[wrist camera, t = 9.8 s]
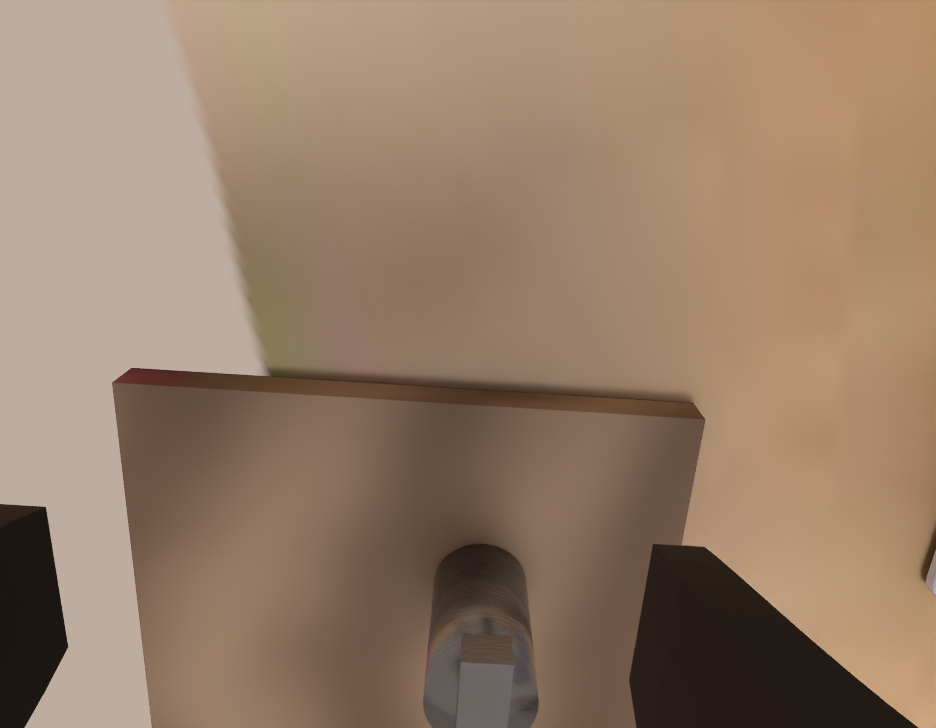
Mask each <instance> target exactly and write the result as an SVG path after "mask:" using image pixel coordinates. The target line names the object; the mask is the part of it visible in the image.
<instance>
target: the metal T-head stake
mask: <svg viewBox="0 0 936 728" xmlns="http://www.w3.org/2000/svg"><path fill="white" fill-rule="evenodd" d="M538 708H539V699H538V689H537V680H536V670H535V660H534V650H533V641H532V631H531V621H530V611H529V602H528V592H527V582H526V575H525V572H524V569H523V567H522V565H521V564H520V562H519V561H518V560H517V559H516V557H514V556H513V555H512V554H511V553H509V552H508V551H506V550H504V549H502V548H500V547H497V546H494V545H490V544H471V545H466V546H463V547H460V548H458V549H456V550H454V551H452V552H451V553H449V554H448V555H447V556H446V557H445V558H444V559H443V560H442V561H441V563H440V564H439V566H438V568H437V570H436V573H435V577H434V586H433V597H432V608H431V619H430V630H429V641H428V651H427V662H426V673H425V684H424V695H423V709H424V713H425V716H426V719H427V720H428V722H429V724H430V725H431V727H432V728H530V727H531V725H532V724H533V722H534V721H535V719H536V716H537V713H538Z"/></svg>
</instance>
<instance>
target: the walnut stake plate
mask: <svg viewBox="0 0 936 728" xmlns="http://www.w3.org/2000/svg"><path fill="white" fill-rule="evenodd" d="M112 385H113V393H114V402H115V411H116V419H117V427H118V437H119V445H120V454H121V462H122V471H123V480H124V489H125V497H126V506H127V515H128V523H129V532H130V541H131V548H132V558H133V566H134V575H135V584H136V592H137V601H138V610H139V619H140V626H141V636H142V645H143V653H144V662H145V670H146V679H147V688H148V696H149V705H150V714H151V723H152V728H432V727H431V725H430V724H429V722H428V720H427V719H426V716H425V713H424V709H423V695H424V684H425V673H426V662H427V651H428V641H429V630H430V619H431V608H432V597H433V586H434V577H435V573H436V570H437V568H438V566H439V564H440V563H441V561H442V560H443V559H444V558H445V557H446V556H447V555H448V554H449V553H451V552H452V551H454V550H456V549H458V548H460V547H463V546H466V545H471V544H490V545H494V546H497V547H500V548H502V549H504V550H506V551H508V552H509V553H511V554H512V555H513V556H514V557H516V559H517V560H518V561H519V562H520V564H521V565H522V567H523V569H524V572H525V575H526V582H527V592H528V602H529V611H530V621H531V631H532V641H533V650H534V660H535V670H536V680H537V689H538V699H539V708H538V713H537V716H536V719H535V721H534V722H533V724H532V725H531V727H530V728H636V722H635V715H634V709H633V703H632V696H631V690H630V683H629V677H630V671H631V666H632V660H633V654H634V649H635V643H636V637H637V632H638V626H639V620H640V615H641V609H642V603H643V597H644V592H645V586H646V580H647V575H648V569H649V563H650V558H651V552H652V546H653V544H664V545H681V544H682V538H683V533H684V528H685V523H686V517H687V512H688V507H689V502H690V497H691V491H692V486H693V481H694V476H695V471H696V465H697V460H698V455H699V450H700V445H701V439H702V434H703V429H704V424H705V418H704V417H703V416H702V414H701V413H700V412H699V410H698V409H697V407H696V406H695V405H694V403H685V402H669V401H653V400H637V399H621V398H605V397H589V396H573V395H557V394H541V393H525V392H509V391H493V390H477V389H461V388H445V387H428V386H412V385H396V384H380V383H364V382H348V381H332V380H316V379H300V378H284V377H268V376H252V375H236V374H220V373H219V374H218V373H204V372H188V371H172V370H156V369H140V368H131V369H130V370H128V371H127V372H126V373H124V374H123V375H122V376H120V377H119V378H118V379H117V380H115V381H114V382H113V383H112Z"/></svg>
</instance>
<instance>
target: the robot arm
mask: <svg viewBox="0 0 936 728" xmlns="http://www.w3.org/2000/svg"><path fill="white" fill-rule="evenodd" d="M926 584H927V586H928V588H929V589H930V590H931V591H932V592H933V594H934V595H935V596H936V550H935V553H934V556H933V559H932V562H931V565H930V568H929V571H928V574H927V579H926ZM67 648H68V643H67V637H66V631H65V625H64V618H63V612H62V606H61V599H60V593H59V587H58V581H57V574H56V568H55V562H54V556H53V549H52V543H51V537H50V531H49V524H48V518H47V512H46V507H37V506H21V505H4V504H0V728H24V727H25V726H26V724H27V722H28V720H29V719H30V717H31V715H32V713H33V712H34V710H35V708H36V706H37V705H38V703H39V701H40V699H41V697H42V696H43V694H44V692H45V690H46V688H47V687H48V685H49V683H50V681H51V679H52V677H53V675H54V673H55V671H56V669H57V667H58V665H59V663H60V662H61V659H62V658H63V656H64V654H65V652H66V650H67ZM629 683H630V690H631V696H632V703H633V709H634V715H635V722H636V728H918V727H917V726H915V725H914V724H913V723H912V722H910V721H909V720H908V719H906V718H905V717H904V716H903V715H901V714H900V713H899V712H897V711H896V710H895V709H894V708H892V707H891V706H890V705H888V704H887V703H886V702H885V701H884V700H882V699H881V698H880V697H879V696H877V695H876V694H875V693H874V692H873V691H871V690H870V689H869V688H868V687H867V686H865V685H864V684H863V683H862V682H860V681H859V680H858V679H857V678H856V677H854V676H853V675H852V674H851V673H850V672H848V671H847V670H846V669H845V668H844V667H842V666H841V665H840V664H839V663H838V662H836V661H835V660H834V659H833V658H832V657H831V656H829V655H828V654H827V653H826V652H825V651H824V650H822V649H821V648H820V647H819V646H818V645H817V644H815V643H814V642H813V641H812V640H811V639H810V638H809V637H807V636H806V635H805V634H804V633H803V632H802V631H801V630H799V629H798V628H797V627H796V626H795V625H794V624H793V623H791V622H790V621H789V620H788V619H787V618H786V617H785V616H783V615H782V614H781V613H780V612H779V611H778V610H777V609H776V608H774V607H773V606H772V605H771V604H770V603H769V602H768V601H767V600H765V599H764V598H763V597H762V596H761V595H760V594H759V593H758V592H756V591H755V590H754V589H753V588H752V587H751V586H750V585H749V584H747V583H746V582H745V581H744V580H743V579H742V578H741V577H739V576H738V575H737V574H736V573H735V572H734V571H733V570H731V569H730V568H729V567H728V566H727V565H726V564H725V563H723V562H722V561H721V560H720V559H719V558H717V557H716V556H715V555H714V554H712V553H711V552H710V551H709V550H707V549H706V548H705V547H697V546H681V545H664V544H653V546H652V552H651V558H650V563H649V569H648V575H647V580H646V586H645V592H644V597H643V603H642V609H641V615H640V620H639V626H638V632H637V637H636V643H635V649H634V654H633V660H632V666H631V671H630V677H629Z"/></svg>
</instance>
